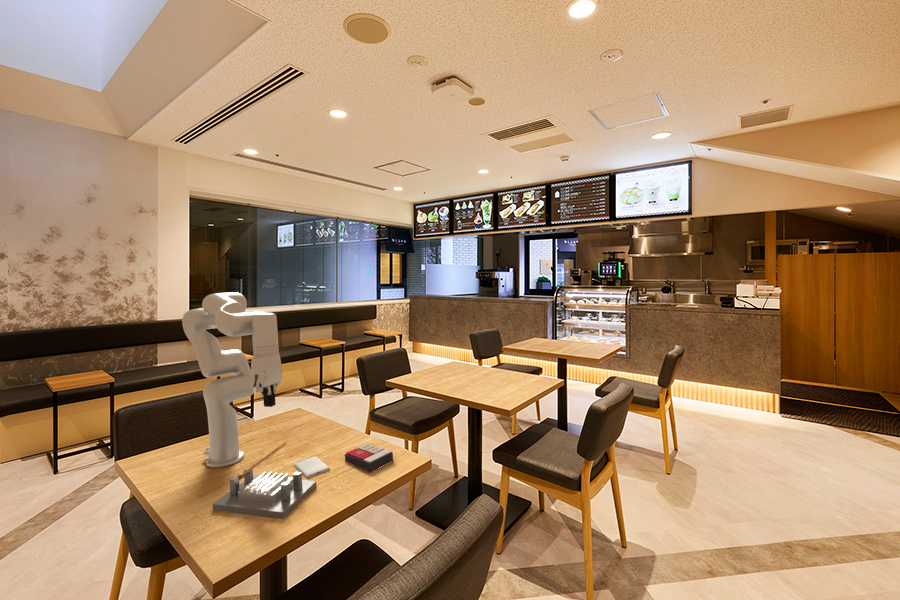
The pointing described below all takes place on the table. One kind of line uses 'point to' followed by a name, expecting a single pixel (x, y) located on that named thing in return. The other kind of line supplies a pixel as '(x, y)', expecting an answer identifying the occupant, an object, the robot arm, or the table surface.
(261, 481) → the heat sink
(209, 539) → the table surface
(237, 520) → the table surface
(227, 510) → the grey mounting plate
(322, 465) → the hard drive
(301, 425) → the table surface
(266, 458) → the retention strap
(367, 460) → the calculator
